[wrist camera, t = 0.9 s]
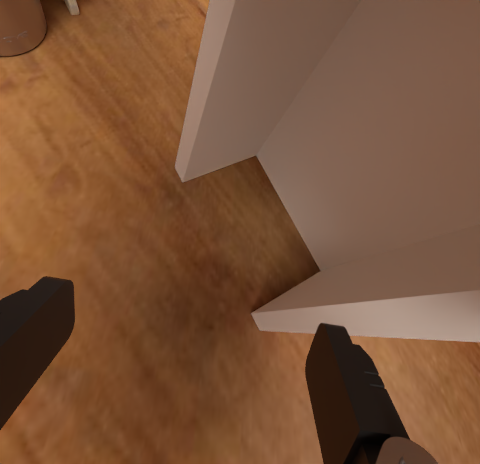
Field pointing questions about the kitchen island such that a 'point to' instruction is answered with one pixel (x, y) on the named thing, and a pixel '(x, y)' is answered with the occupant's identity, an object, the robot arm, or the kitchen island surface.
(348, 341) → the robot arm
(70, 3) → the toy table
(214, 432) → the kitchen island surface
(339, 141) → the shelf stand
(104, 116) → the kitchen island surface
